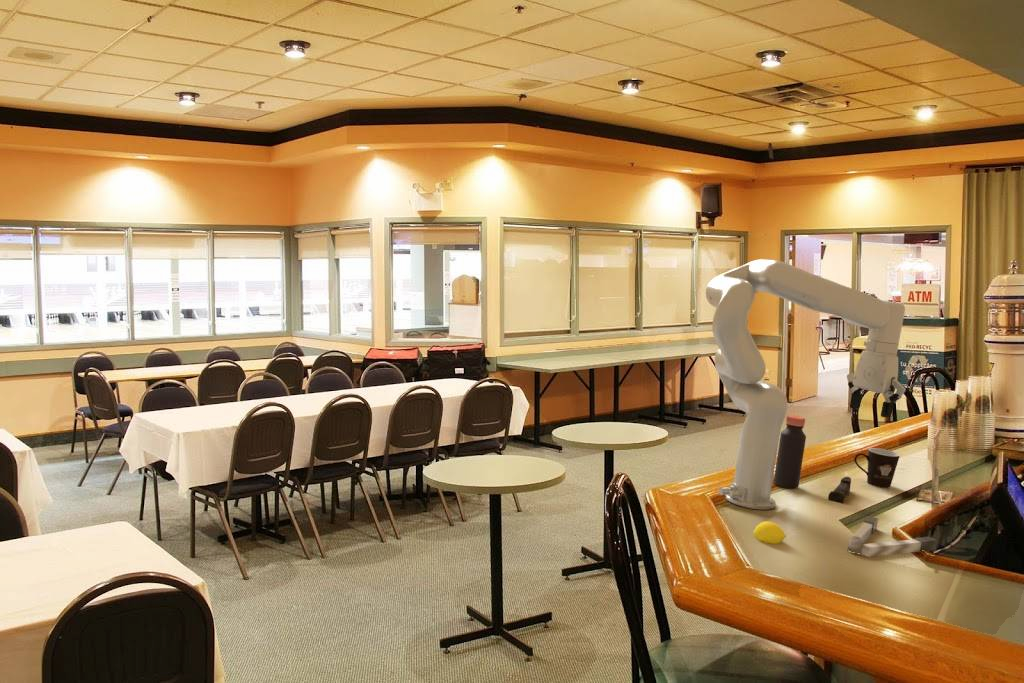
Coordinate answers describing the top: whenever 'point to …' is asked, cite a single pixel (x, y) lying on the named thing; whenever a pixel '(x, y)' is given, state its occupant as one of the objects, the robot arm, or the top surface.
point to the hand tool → (840, 491)
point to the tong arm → (866, 529)
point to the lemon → (769, 533)
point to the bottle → (790, 453)
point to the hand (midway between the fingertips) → (869, 412)
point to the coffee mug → (880, 466)
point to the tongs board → (892, 546)
